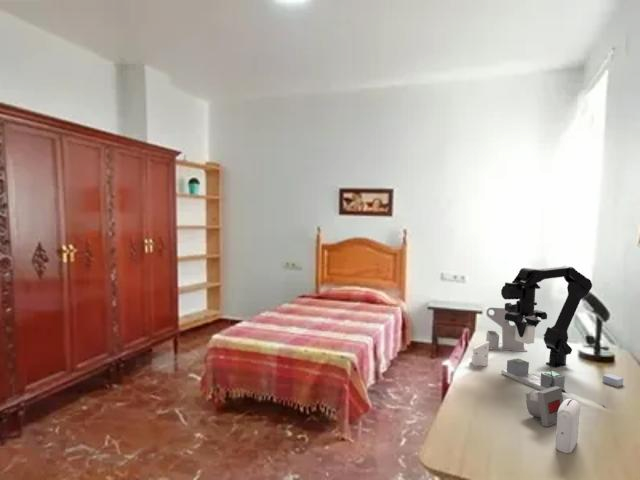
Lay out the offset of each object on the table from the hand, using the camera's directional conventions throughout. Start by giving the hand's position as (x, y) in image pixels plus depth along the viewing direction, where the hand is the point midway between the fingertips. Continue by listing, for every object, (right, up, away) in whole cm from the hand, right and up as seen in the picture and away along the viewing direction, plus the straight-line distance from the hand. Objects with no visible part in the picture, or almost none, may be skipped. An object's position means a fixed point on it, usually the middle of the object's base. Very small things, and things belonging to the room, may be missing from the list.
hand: (524, 336), depth 184 cm
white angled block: (-17, -13, +4) cm, 22 cm away
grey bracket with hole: (+4, -12, +29) cm, 31 cm away
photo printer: (-17, -17, -61) cm, 66 cm away
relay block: (+23, -13, -19) cm, 32 cm away
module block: (0, -2, 0) cm, 2 cm away
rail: (-5, -14, -16) cm, 21 cm away
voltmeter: (-11, -16, -40) cm, 45 cm away
